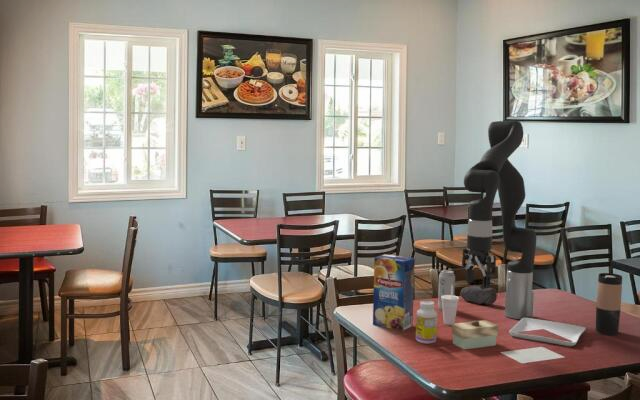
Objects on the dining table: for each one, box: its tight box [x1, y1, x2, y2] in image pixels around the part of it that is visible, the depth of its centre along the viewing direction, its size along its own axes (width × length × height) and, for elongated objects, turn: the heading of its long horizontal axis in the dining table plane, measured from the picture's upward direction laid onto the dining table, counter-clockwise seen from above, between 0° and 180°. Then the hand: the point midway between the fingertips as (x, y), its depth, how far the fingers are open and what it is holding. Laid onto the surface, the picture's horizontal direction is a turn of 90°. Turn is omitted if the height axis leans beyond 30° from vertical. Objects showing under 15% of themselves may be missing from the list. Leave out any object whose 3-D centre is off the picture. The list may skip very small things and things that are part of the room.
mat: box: [500, 346, 565, 364], centre depth 194 cm, size 16×10×1 cm, turn 112°
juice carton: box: [372, 253, 416, 331], centre depth 224 cm, size 12×8×24 cm, turn 56°
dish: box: [452, 334, 497, 350], centre depth 202 cm, size 12×6×4 cm, turn 112°
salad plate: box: [508, 317, 587, 347], centre depth 215 cm, size 21×21×3 cm
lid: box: [451, 319, 499, 339], centre depth 202 cm, size 13×6×4 cm, turn 112°
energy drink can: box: [437, 269, 456, 312], centre depth 246 cm, size 6×6×15 cm
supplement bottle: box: [415, 300, 438, 345], centre depth 208 cm, size 7×7×13 cm
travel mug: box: [595, 272, 623, 336], centre depth 221 cm, size 8×8×20 cm
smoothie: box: [441, 285, 460, 326], centre depth 228 cm, size 6×6×14 cm
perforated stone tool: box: [459, 285, 498, 306], centre depth 257 cm, size 15×5×7 cm, turn 50°
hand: (477, 284), depth 202 cm, fingers open, 8 cm apart
